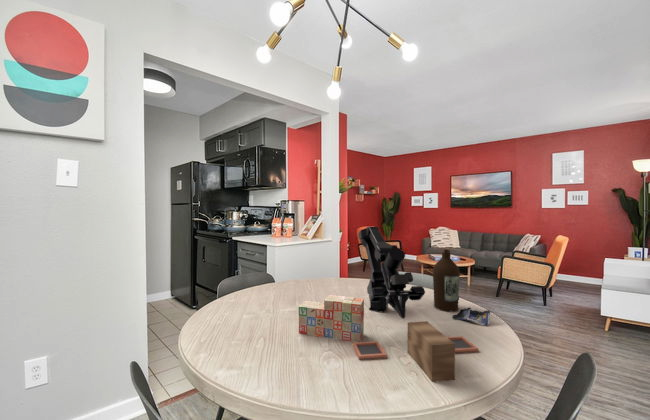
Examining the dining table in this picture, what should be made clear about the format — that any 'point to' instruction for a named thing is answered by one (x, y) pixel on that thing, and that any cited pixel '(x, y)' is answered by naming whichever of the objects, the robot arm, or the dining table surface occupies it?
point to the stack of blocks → (333, 318)
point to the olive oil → (446, 283)
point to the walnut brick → (431, 351)
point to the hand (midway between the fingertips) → (403, 317)
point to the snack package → (473, 316)
